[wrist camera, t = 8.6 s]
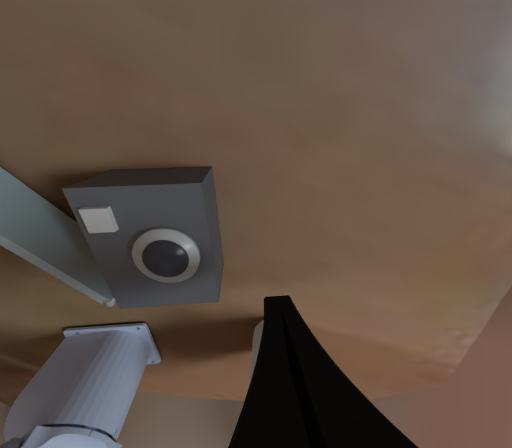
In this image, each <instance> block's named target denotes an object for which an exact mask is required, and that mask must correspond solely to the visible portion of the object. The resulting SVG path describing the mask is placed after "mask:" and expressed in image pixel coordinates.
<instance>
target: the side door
mask: <svg viewBox="0 0 512 448" xmlns="http://www.w3.org/2000/svg"><path fill="white" fill-rule="evenodd" d="M0 245H1V246H3V247H4V248H6V249H8V250H9V251H11V252H13V253H15V254H16V255H18V256H20V257H21V258H23V259H25V260H27V261H28V262H30V263H32V264H33V265H35V266H37V267H39V268H40V269H42V270H44V271H46V272H47V273H49V274H51V275H52V276H54V277H56V278H58V279H59V280H61V281H63V282H64V283H66V284H68V285H70V286H71V287H73V288H75V289H76V290H78V291H80V292H82V293H83V294H85V295H87V296H88V297H90V298H92V299H94V300H95V301H97V302H99V303H100V304H102V305H104V306H106V307H112V306H113V305H114V303H115V302H116V300H115V298H114V296H113V294H112V292H111V290H110V287H109V285H108V283H107V281H106V279H105V277H104V275H103V273H102V271H101V269H100V267H99V265H98V263H97V261H96V259H95V257H94V254H93V252H92V250H91V248H90V246H89V244H88V242H87V240H86V238H85V236H84V234H83V232H82V230H81V228H80V226H79V224H78V223H77V222H76V221H74V220H73V219H72V218H70V217H69V216H67V215H66V214H65V213H63V212H62V211H61V210H59V209H58V208H56V207H55V206H54V205H52V204H51V203H49V202H48V201H47V200H45V199H44V198H43V197H41V196H40V195H38V194H37V193H36V192H34V191H33V190H32V189H30V188H29V187H27V186H26V185H25V184H23V183H22V182H21V181H19V180H18V179H16V178H15V177H14V176H12V175H11V174H9V173H8V172H7V171H5V170H4V169H3V168H1V167H0Z"/></svg>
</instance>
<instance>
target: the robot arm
mask: <svg viewBox="0 0 512 448" xmlns="http://www.w3.org/2000/svg"><path fill="white" fill-rule="evenodd" d="M63 334H64V335H65V337H66V338H65V339H64V340H63V341H62V343H61V344H60V345H59V346H58V348H57V349H56V350H55V351H54V352H53V354H52V355H51V356H50V357H49V359H48V360H47V361H46V362H45V363H44V365H43V366H42V367H41V368H40V370H39V371H38V372H37V373H36V375H35V376H34V377H33V378H32V379H31V381H30V382H29V383H28V384H27V386H26V387H25V388H24V389H23V390H22V392H21V393H20V395H19V396H18V397H17V399H16V401H15V402H14V404H13V406H12V408H11V410H10V412H9V414H8V417H7V419H6V422H5V426H4V437H5V440H6V443H4V444H2V445H0V448H121V447H122V444H120V443H117V442H116V441H117V439H118V436H119V434H120V431H121V428H122V426H123V423H124V421H125V418H126V416H127V413H128V411H129V408H130V405H131V403H132V400H133V398H134V395H135V393H136V390H137V387H138V385H139V382H140V380H141V377H142V375H143V372H144V370H145V367H146V364H157V363H160V362H161V357H160V354H159V352H158V350H157V347H156V345H155V342H154V340H153V338H152V335H151V333H150V330H149V328H148V326H147V324H145V323H134V324H120V325H106V326H93V327H79V328H68V329H65V331H64V332H63ZM228 448H418V447H417V446H416V445H415V444H414V443H413V442H411V441H410V440H409V439H408V438H407V437H406V436H405V435H404V434H403V433H402V432H401V431H400V430H398V429H397V428H396V427H395V426H394V425H393V424H392V423H391V422H390V421H389V420H388V419H387V418H386V417H385V416H384V415H383V414H382V413H381V412H380V411H379V410H378V409H377V408H376V407H375V406H374V405H373V404H372V403H371V402H370V401H369V400H368V399H367V398H366V397H365V396H364V395H363V394H362V393H361V392H360V391H359V389H358V388H357V387H356V386H355V385H354V384H353V383H352V382H351V381H350V380H349V379H348V377H347V376H346V375H345V374H344V373H343V372H342V371H341V370H340V368H339V367H338V366H337V365H336V364H335V362H334V361H333V360H332V359H331V358H330V356H329V355H328V354H327V352H326V351H325V350H324V349H323V347H322V346H321V345H320V343H319V342H318V341H317V339H316V338H315V336H314V335H313V334H312V332H311V331H310V329H309V328H308V326H307V325H306V323H305V322H304V320H303V319H302V317H301V315H300V314H299V312H298V310H297V309H296V307H295V305H294V303H293V302H292V300H291V298H290V296H288V295H287V296H273V297H265V298H264V323H263V330H262V337H261V342H260V347H259V351H258V356H257V360H256V364H255V368H254V372H253V375H252V379H251V382H250V386H249V389H248V392H247V396H246V399H245V402H244V405H243V408H242V411H241V414H240V417H239V419H238V422H237V425H236V428H235V431H234V434H233V436H232V439H231V442H230V444H229V447H228Z"/></svg>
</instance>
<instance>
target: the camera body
mask: <svg viewBox="0 0 512 448" xmlns="http://www.w3.org/2000/svg"><path fill="white" fill-rule="evenodd" d="M61 189H62V191H63V193H64V195H65V197H66V199H67V201H68V203H69V205H70V207H71V209H72V211H73V213H74V215H75V217H76V219H77V222H78V224H79V226H80V228H81V230H82V232H83V234H84V236H85V238H86V240H87V242H88V244H89V246H90V248H91V250H92V252H93V254H94V257H95V259H96V261H97V263H98V265H99V267H100V269H101V271H102V273H103V275H104V277H105V279H106V281H107V283H108V285H109V287H110V290H111V292H112V294H113V296H114V298H115V300H116V302H117V304H118V306H119V308H131V307H146V306H160V305H175V304H189V303H204V302H218V301H219V298H220V289H221V281H222V273H223V265H224V262H223V254H222V245H221V237H220V229H219V220H218V212H217V204H216V195H215V187H214V178H213V170H212V167H185V168H156V169H127V170H110V171H108V172H105V173H102V174H99V175H97V176H94V177H91V178H89V179H86V180H83V181H80V182H78V183H75V184H72V185H70V186H67V187H64V188H61Z"/></svg>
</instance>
